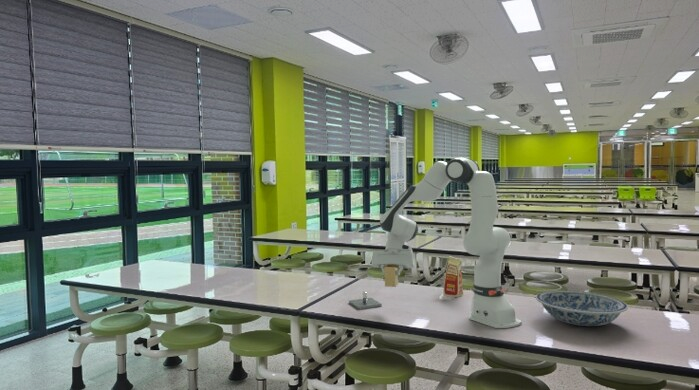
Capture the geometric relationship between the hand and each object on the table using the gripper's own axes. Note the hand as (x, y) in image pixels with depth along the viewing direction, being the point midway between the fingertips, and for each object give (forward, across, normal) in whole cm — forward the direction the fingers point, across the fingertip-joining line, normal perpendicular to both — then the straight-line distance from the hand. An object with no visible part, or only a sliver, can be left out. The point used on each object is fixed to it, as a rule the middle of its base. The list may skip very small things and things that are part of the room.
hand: (390, 274), depth 214 cm
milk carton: (-12, +26, +36) cm, 46 cm away
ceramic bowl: (+12, +80, +14) cm, 82 cm away
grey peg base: (+8, -14, +15) cm, 22 cm away
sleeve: (+3, 0, +4) cm, 5 cm away
